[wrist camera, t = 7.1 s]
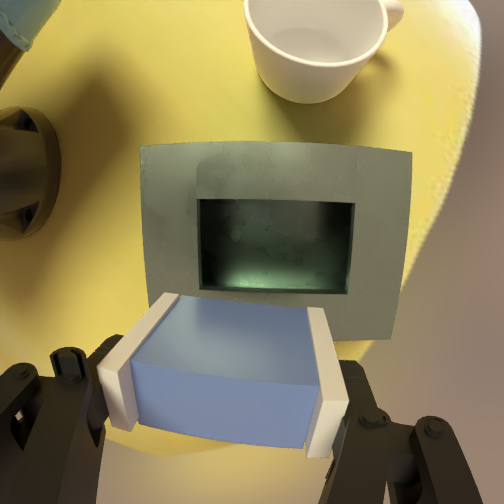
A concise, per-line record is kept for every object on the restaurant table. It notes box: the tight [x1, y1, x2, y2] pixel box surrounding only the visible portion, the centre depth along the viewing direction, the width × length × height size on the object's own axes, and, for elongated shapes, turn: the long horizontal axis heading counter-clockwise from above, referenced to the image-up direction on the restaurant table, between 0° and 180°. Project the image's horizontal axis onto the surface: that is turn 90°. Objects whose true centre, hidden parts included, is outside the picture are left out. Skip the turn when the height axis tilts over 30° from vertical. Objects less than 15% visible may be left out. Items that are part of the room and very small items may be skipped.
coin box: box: [140, 141, 412, 341], centre depth 22 cm, size 16×12×9 cm
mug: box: [244, 0, 404, 104], centre depth 17 cm, size 12×8×10 cm
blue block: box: [130, 295, 319, 449], centre depth 12 cm, size 6×3×6 cm, turn 86°
